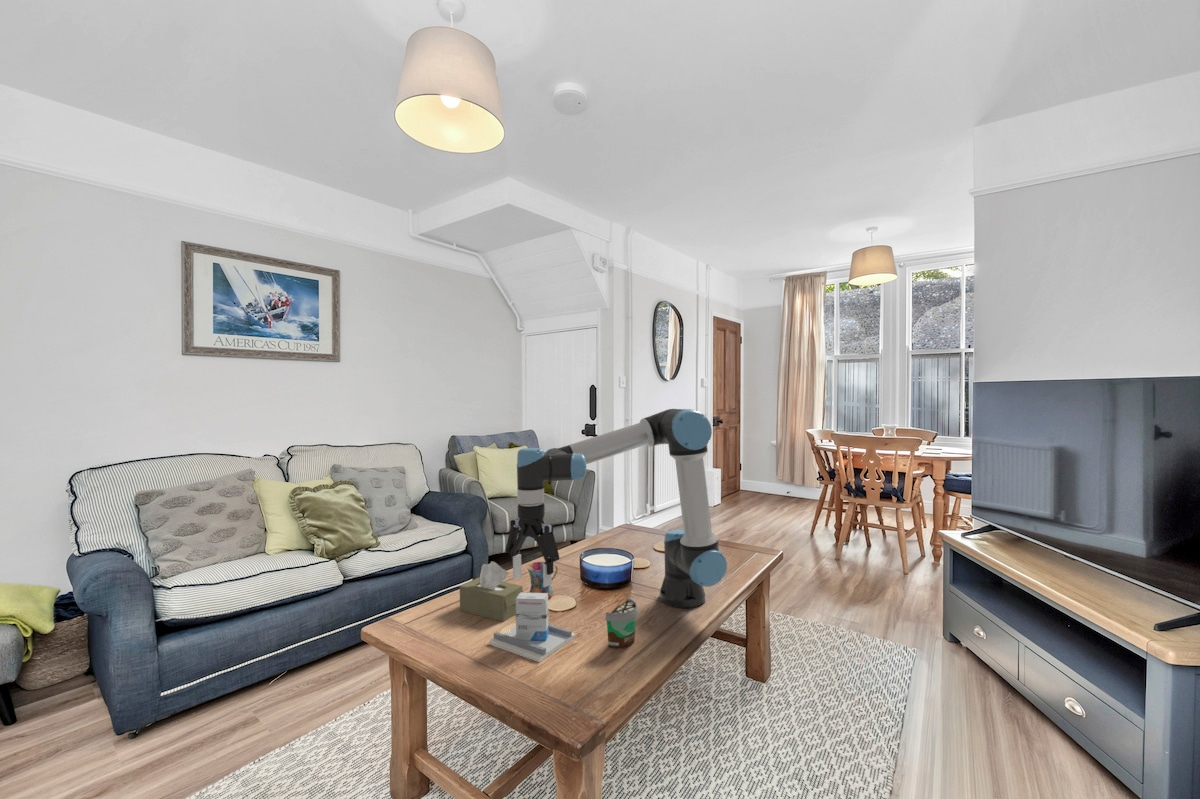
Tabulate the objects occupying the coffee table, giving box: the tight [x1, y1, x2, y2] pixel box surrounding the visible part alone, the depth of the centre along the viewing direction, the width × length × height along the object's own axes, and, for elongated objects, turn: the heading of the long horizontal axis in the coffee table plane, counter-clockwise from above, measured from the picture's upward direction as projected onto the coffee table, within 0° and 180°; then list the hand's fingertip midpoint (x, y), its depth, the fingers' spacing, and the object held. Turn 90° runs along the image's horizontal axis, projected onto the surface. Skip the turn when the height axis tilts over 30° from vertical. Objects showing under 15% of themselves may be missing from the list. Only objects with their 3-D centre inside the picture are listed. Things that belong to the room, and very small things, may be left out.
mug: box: [526, 561, 559, 599], centre depth 176 cm, size 12×9×11 cm
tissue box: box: [459, 561, 524, 623], centre depth 165 cm, size 19×10×16 cm, turn 61°
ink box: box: [515, 592, 549, 641], centre depth 144 cm, size 8×5×12 cm, turn 85°
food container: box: [605, 597, 640, 649], centre depth 142 cm, size 12×6×10 cm, turn 148°
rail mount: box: [488, 623, 576, 663], centre depth 144 cm, size 18×16×2 cm
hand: (532, 581), depth 144 cm, fingers open, 10 cm apart
